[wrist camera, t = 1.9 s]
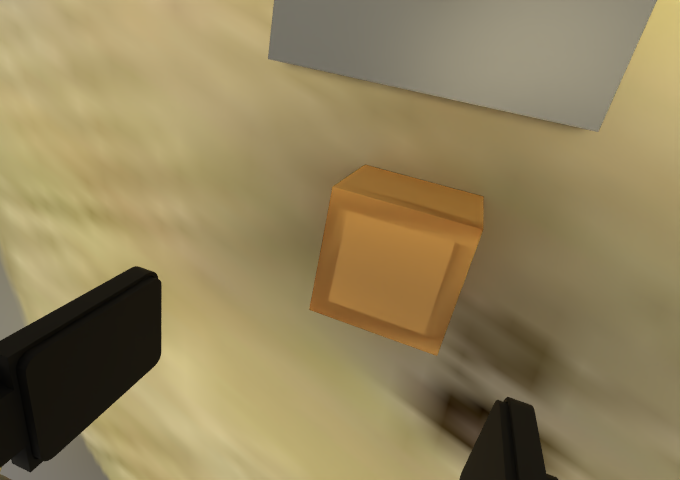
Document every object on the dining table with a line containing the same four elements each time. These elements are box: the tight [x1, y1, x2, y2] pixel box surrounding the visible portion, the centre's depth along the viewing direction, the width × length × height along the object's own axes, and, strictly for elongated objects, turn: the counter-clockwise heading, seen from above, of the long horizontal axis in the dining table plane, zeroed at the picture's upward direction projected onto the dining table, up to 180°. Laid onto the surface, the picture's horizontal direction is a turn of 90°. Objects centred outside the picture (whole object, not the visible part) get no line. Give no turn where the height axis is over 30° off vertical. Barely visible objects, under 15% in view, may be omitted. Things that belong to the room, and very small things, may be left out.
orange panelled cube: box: [309, 165, 483, 356], centre depth 19 cm, size 6×6×5 cm
